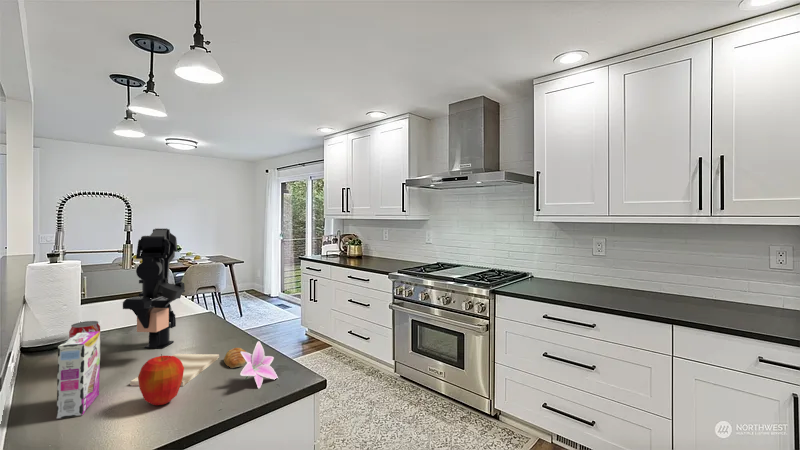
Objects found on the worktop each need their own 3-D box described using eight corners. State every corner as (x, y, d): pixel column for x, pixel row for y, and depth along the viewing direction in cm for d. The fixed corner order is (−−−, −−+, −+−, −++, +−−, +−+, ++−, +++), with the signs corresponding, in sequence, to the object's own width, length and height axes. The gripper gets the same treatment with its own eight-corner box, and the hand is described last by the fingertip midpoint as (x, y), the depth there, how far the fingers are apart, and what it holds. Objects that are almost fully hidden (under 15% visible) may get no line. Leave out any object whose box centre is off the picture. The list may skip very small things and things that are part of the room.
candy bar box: (84, 416, 84) (84, 343, 84) (55, 420, 82) (55, 346, 82) (101, 394, 94) (101, 329, 94) (76, 397, 92) (76, 332, 92)
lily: (231, 399, 95) (248, 368, 94) (222, 367, 103) (238, 338, 102) (273, 398, 103) (290, 370, 102) (262, 369, 112) (277, 342, 111)
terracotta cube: (149, 326, 120) (150, 307, 119) (168, 326, 120) (168, 308, 119) (136, 331, 114) (136, 312, 113) (156, 332, 114) (156, 312, 113)
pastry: (249, 367, 113) (249, 354, 113) (225, 371, 110) (225, 358, 110) (246, 357, 121) (246, 345, 121) (223, 360, 118) (223, 348, 118)
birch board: (175, 357, 119) (175, 353, 119) (218, 358, 119) (218, 354, 119) (130, 385, 99) (130, 381, 99) (183, 386, 99) (183, 381, 99)
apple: (133, 415, 84) (134, 363, 84) (143, 398, 92) (143, 350, 92) (181, 408, 88) (181, 357, 88) (186, 391, 96) (186, 345, 96)
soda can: (82, 372, 107) (82, 327, 106) (62, 370, 108) (62, 326, 108) (106, 363, 114) (106, 321, 113) (87, 361, 115) (87, 319, 115)
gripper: (160, 281, 107) (159, 334, 107) (195, 271, 126) (195, 317, 126) (121, 280, 107) (121, 334, 107) (162, 271, 126) (162, 317, 126)
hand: (153, 325), depth 116 cm, fingers closed on terracotta cube, 6 cm apart
